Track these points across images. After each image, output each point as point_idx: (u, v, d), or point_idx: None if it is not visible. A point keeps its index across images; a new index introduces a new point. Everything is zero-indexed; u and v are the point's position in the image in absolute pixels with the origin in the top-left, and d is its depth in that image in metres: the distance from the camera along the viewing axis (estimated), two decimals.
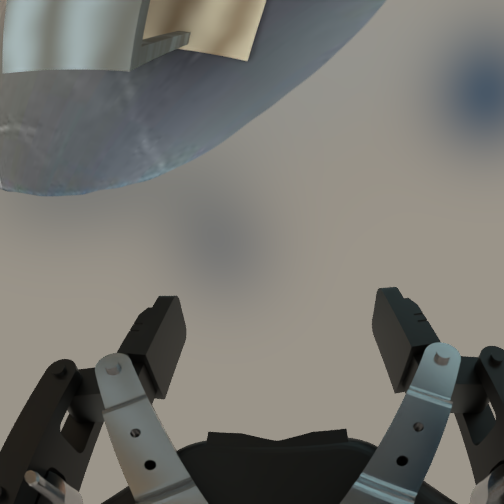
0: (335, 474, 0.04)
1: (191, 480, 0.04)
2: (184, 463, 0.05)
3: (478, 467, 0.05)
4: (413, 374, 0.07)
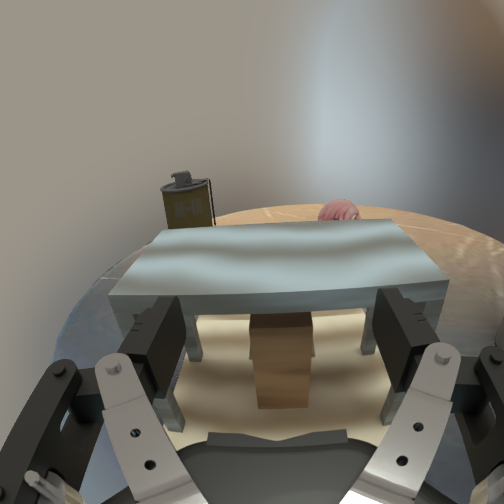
0: (335, 474, 0.04)
1: (191, 480, 0.04)
2: (184, 463, 0.05)
3: (478, 467, 0.05)
4: (413, 374, 0.07)
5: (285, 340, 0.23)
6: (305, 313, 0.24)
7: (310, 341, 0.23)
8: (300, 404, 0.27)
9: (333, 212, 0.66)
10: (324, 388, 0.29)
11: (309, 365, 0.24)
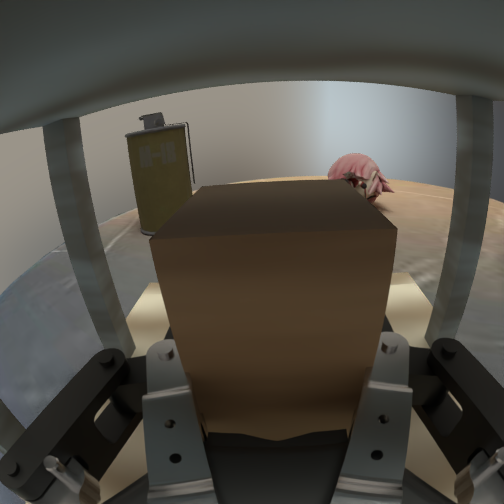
0: (335, 474, 0.04)
1: (211, 482, 0.04)
2: (211, 462, 0.05)
3: (453, 457, 0.05)
4: None
5: (292, 293, 0.06)
6: (355, 205, 0.07)
7: (381, 298, 0.06)
8: None
9: (347, 166, 0.49)
10: None
11: None
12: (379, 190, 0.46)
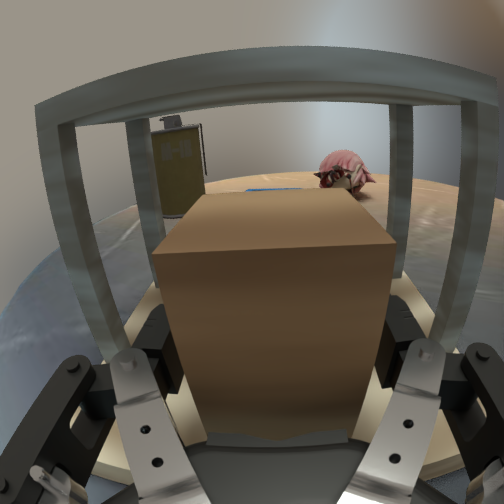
0: (335, 474, 0.04)
1: (197, 480, 0.04)
2: (192, 462, 0.05)
3: (471, 463, 0.05)
4: (398, 369, 0.08)
5: (292, 306, 0.06)
6: (355, 217, 0.07)
7: (380, 310, 0.06)
8: None
9: (336, 160, 0.58)
10: None
11: (362, 390, 0.07)
12: (362, 180, 0.56)
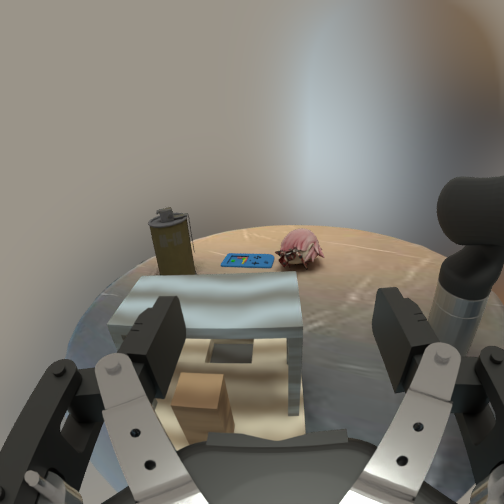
0: (335, 474, 0.04)
1: (191, 480, 0.04)
2: (184, 463, 0.05)
3: (478, 467, 0.05)
4: (413, 374, 0.07)
5: (199, 414, 0.28)
6: (215, 396, 0.29)
7: (218, 417, 0.28)
8: None
9: (292, 241, 0.79)
10: (252, 385, 0.43)
11: (222, 430, 0.29)
12: (312, 258, 0.77)
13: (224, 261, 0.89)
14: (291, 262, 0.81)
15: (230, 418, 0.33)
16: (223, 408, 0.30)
